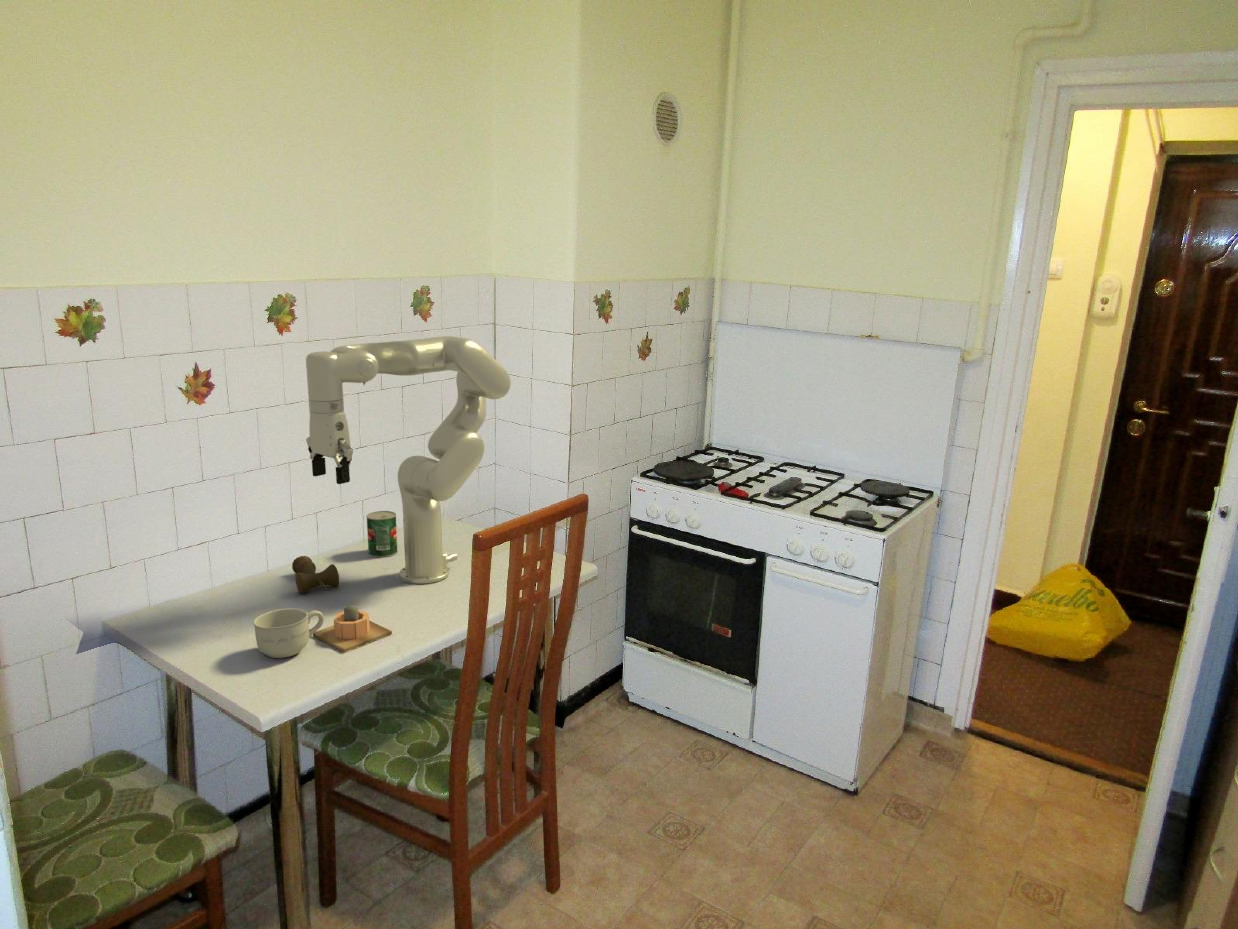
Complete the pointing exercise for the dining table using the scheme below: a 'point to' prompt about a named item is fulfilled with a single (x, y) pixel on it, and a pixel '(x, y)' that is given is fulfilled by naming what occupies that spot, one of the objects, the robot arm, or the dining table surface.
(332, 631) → the post plate
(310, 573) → the kendama
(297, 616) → the teacup
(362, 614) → the ring
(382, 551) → the canned tomato
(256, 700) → the dining table surface
